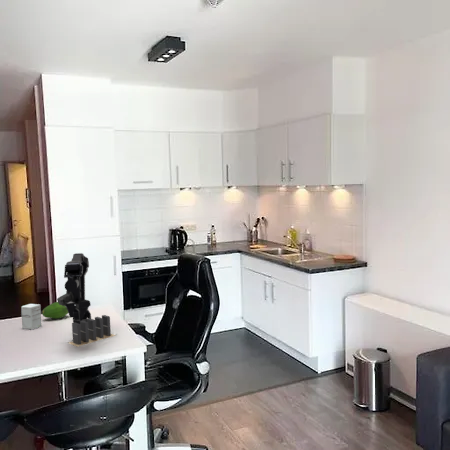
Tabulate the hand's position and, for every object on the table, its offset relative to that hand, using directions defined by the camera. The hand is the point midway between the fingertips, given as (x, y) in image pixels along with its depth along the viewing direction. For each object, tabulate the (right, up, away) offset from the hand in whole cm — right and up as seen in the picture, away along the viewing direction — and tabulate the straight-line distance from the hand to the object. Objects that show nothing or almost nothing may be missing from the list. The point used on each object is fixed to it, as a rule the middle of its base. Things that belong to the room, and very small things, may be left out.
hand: (76, 318), depth 228 cm
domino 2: (+3, -12, +4) cm, 13 cm away
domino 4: (+9, -11, +10) cm, 18 cm away
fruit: (-28, -10, +49) cm, 57 cm away
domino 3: (+6, -12, +7) cm, 15 cm away
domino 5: (+12, -11, +13) cm, 21 cm away
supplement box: (-35, -12, +32) cm, 49 cm away
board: (+6, -12, +7) cm, 15 cm away
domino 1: (0, -12, +1) cm, 12 cm away
